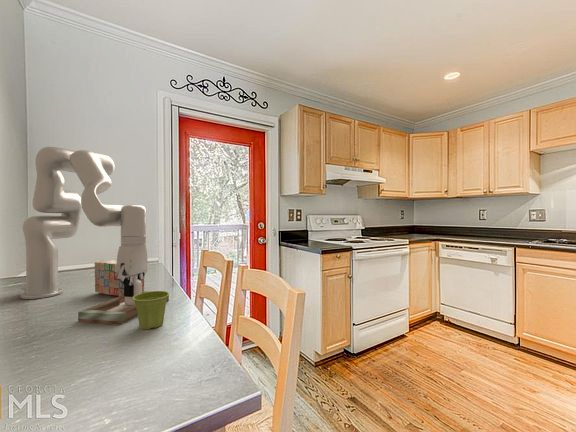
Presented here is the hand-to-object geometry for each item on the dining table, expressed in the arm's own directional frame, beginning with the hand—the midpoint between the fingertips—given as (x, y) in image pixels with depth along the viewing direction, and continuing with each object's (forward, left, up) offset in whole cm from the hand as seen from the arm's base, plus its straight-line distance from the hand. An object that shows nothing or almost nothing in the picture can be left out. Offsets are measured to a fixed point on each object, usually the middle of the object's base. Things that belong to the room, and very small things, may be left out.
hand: (133, 294), depth 96 cm
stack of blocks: (-16, +13, -4) cm, 21 cm away
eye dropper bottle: (0, 0, -3) cm, 3 cm away
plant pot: (+16, -13, -5) cm, 22 cm away
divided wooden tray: (0, -2, -5) cm, 5 cm away
